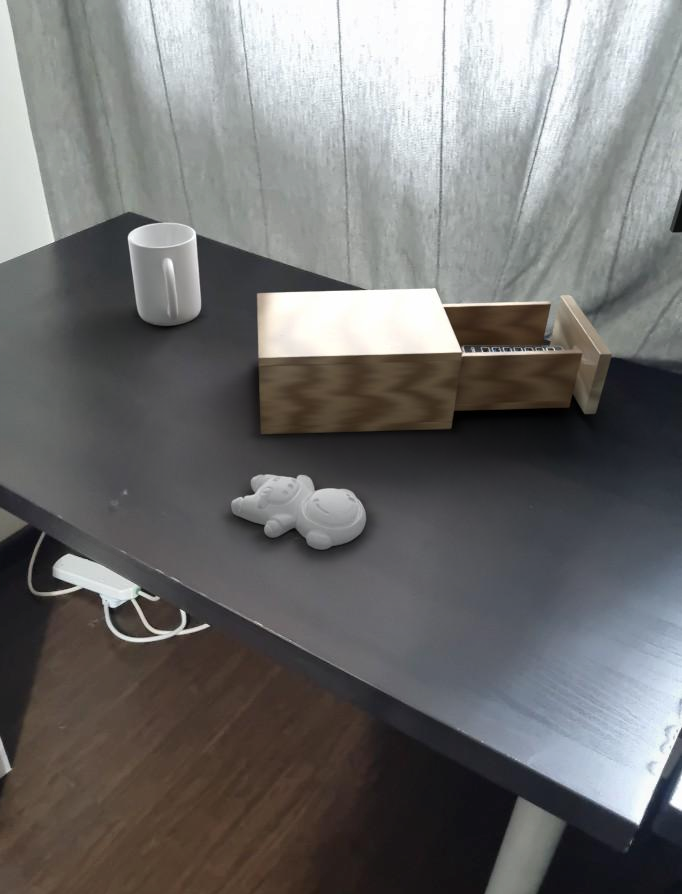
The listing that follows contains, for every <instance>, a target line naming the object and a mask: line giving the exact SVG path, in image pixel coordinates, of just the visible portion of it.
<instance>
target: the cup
mask: <svg viewBox="0 0 682 894" xmlns="http://www.w3.org/2000/svg"><path fill="white" fill-rule="evenodd" d="M127 243H128V250H129V257H130V266H131V272H132V281H133V287H134V296H135V303H136V310H137V313H138V316H139V317H140V319H142V320H143V321H144V322H146V323H148V324H151V325H155V326H161V327H171V326H179V325H182V324H183V325H184V324H186V323H190V322H191V321H193V320H194V319H196V318H197V317H198V316H199V314H200V312H201V309H202V296H201V284H200V283H201V282H200V272H199V271H200V270H199V269H200V268H199V258H198V257H199V256H198V245H197V243H198V242H197V232H196V231H195V229H193V228H192V227H191V226H189V225H185V224H183V223H176V222H156V223H149V224H145V225H142V226H139V227H137V228H134V229H132V230H131V231H130V232H129V233H128V235H127Z"/></svg>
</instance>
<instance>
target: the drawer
mask: <svg viewBox="0 0 682 894" xmlns="http://www.w3.org/2000/svg"><path fill="white" fill-rule="evenodd" d="M442 305H443V307H444V310H445V312H446V315H447V317H448V319H449V322H450V324H451V327H452V329H453V331H454V334H455V336H456V339H457V341H458V343H459V346H460V348H461V347H462V346H463V345H495V346H543V344H544V339H545V335H546V330H547V325H548V322H549V321H548V320H549V317H550V313H551V312H550V311H551V307H552V303H551V302H550V301H549V300H547V301H545V300H544V301H543V300H542V301H508V302H472V303H471V302H469V303H467V302H466V303H442ZM549 346H561V347H563V349H564V350H550V351H513V352H477V353H462V358H461V365H460V372H459V379H458V385H457V392H456V399H455V406H454V412H456V411H457V412H459V411H492V410H496V411H499V410H528V409H529V410H530V409H532V410H533V409H565V408H570V406H571V401H572V397H574V399H575V400H576V402H577V404H578V405H579V407H580V409H581V411H582V413H583V414H584V415H595V414H596V413H597V411H598V408H599V407H598V405H599V404H600V399H601V396H602V392H603V388H604V385H605V382H606V379H607V378H606V377H607V375H608V370H609V368H610V363H611V360H612V356H613V353H612V352H611V350H610V349H609V348H608V346H607V344H606V343H605V342H604V340H603V339H602V337H601V336H600V335H599V332H597V331H596V329H595V327H594V326H593V325H592V323H591V322H590V320H589V319H588V317H587V316H586V314H585V313H584V312H583V310H582V309H581V308H580V306H579V305H578V303H577V301H576V300H575V299H574V298H573V296H572V295H566V294H565V295H560V296H559V301H558V305H557V309H556V315H555V319H554V324H553V328H552V333H551V337H550V341H549Z"/></svg>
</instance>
